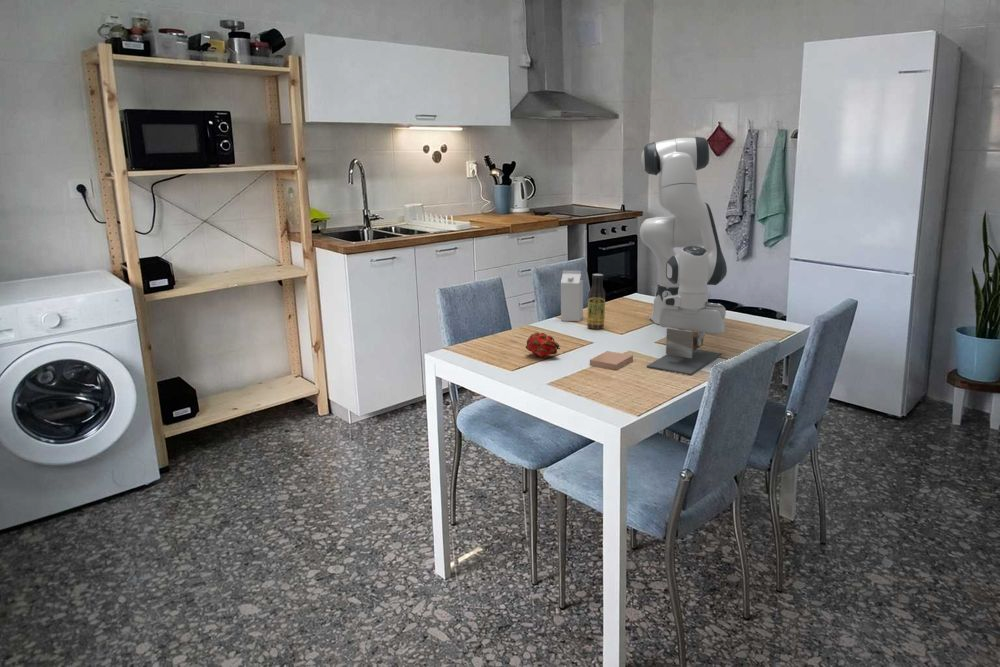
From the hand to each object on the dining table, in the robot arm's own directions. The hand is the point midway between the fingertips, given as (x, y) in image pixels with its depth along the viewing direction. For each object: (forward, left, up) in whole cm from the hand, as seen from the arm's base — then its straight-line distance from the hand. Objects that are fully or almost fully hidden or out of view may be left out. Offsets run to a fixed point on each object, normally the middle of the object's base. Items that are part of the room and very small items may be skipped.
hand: (690, 344), depth 218 cm
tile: (+12, -18, -4) cm, 22 cm away
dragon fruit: (+23, -40, -5) cm, 46 cm away
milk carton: (-23, -58, -5) cm, 63 cm away
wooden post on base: (+2, 0, -2) cm, 2 cm away
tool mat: (+4, 0, -4) cm, 6 cm away
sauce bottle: (-17, -44, -5) cm, 47 cm away
